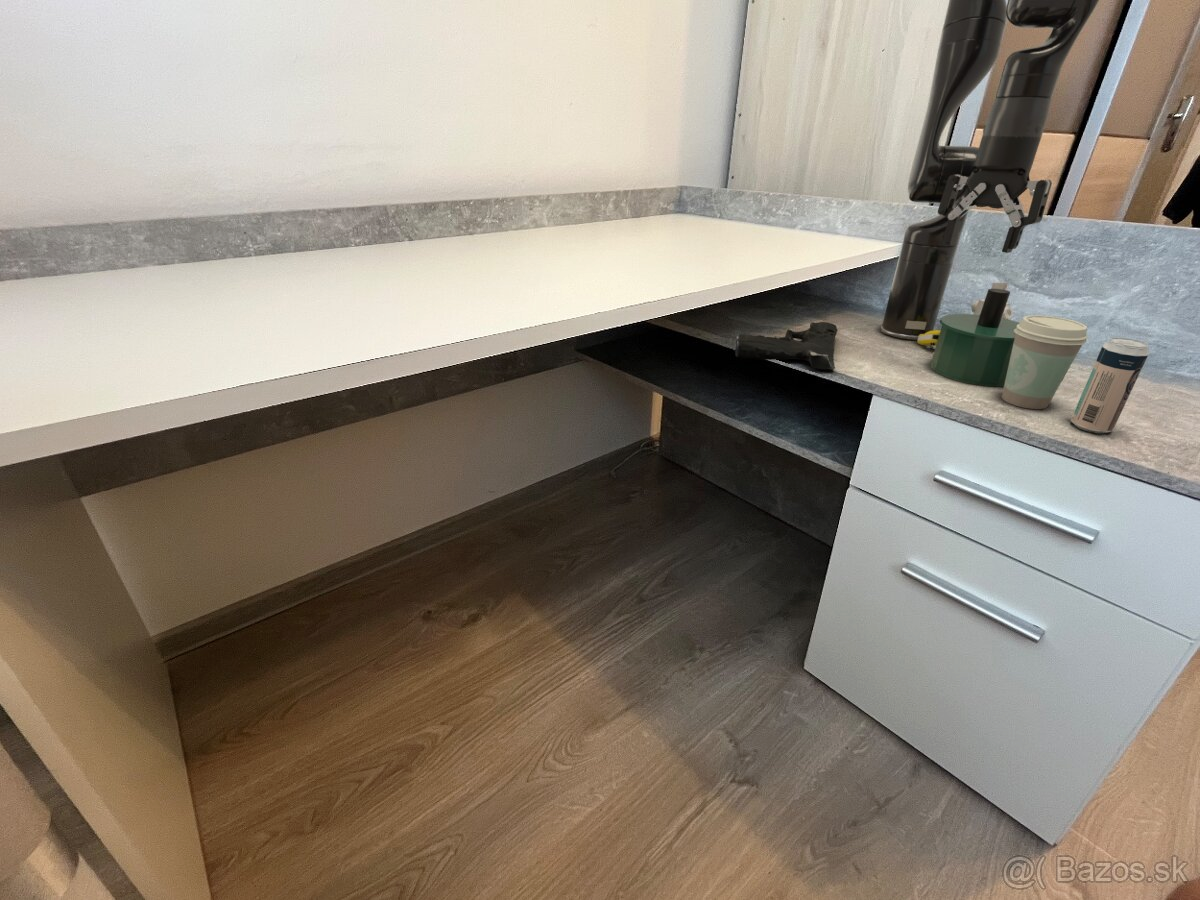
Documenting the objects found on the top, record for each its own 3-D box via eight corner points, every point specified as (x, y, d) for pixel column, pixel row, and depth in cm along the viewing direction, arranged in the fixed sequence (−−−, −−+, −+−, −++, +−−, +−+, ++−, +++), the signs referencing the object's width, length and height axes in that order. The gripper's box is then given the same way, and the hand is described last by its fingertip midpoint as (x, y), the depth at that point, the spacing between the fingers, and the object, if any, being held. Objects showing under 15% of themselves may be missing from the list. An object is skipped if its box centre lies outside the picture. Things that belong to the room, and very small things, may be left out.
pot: (920, 357, 106) (932, 315, 103) (997, 362, 105) (1012, 320, 101) (944, 382, 95) (958, 336, 92) (1030, 389, 94) (1048, 342, 90)
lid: (927, 317, 104) (938, 279, 100) (1012, 323, 102) (1026, 283, 99) (955, 341, 92) (968, 298, 89) (1052, 348, 90) (1069, 304, 87)
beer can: (1120, 437, 79) (1161, 349, 73) (1079, 433, 80) (1118, 346, 74) (1100, 422, 83) (1139, 338, 77) (1062, 418, 84) (1097, 335, 78)
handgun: (746, 327, 120) (749, 310, 118) (834, 337, 115) (838, 319, 114) (729, 361, 103) (732, 341, 101) (832, 375, 98) (836, 354, 96)
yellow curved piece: (922, 347, 108) (926, 327, 108) (915, 350, 114) (918, 331, 114) (984, 354, 105) (988, 334, 105) (973, 356, 111) (977, 337, 111)
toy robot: (989, 353, 109) (1011, 286, 104) (955, 340, 116) (975, 277, 110) (1005, 351, 110) (1029, 285, 105) (971, 339, 117) (992, 276, 111)
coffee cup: (987, 387, 94) (1013, 311, 88) (1051, 396, 91) (1082, 318, 86) (996, 407, 87) (1025, 326, 81) (1065, 417, 84) (1100, 334, 79)
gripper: (1076, 135, 86) (1035, 253, 93) (972, 133, 95) (942, 240, 103) (1058, 134, 81) (1017, 257, 89) (951, 132, 91) (921, 244, 99)
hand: (977, 248), depth 96 cm, fingers open, 8 cm apart
